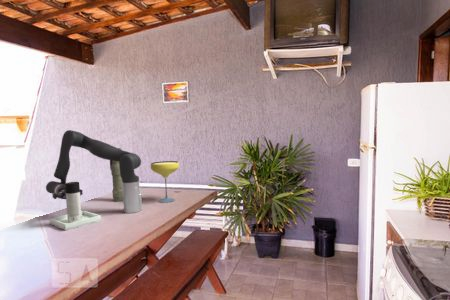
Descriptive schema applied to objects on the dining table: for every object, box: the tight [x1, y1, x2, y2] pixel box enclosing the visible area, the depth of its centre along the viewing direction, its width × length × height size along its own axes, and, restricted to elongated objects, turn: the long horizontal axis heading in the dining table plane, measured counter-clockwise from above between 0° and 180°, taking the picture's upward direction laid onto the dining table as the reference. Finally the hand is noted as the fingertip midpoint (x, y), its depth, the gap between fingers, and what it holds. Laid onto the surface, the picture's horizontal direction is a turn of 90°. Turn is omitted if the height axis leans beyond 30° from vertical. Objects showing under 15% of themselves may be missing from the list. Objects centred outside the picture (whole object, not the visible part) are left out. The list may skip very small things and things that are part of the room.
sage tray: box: [49, 210, 102, 231], centre depth 162 cm, size 18×18×3 cm
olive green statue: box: [109, 147, 124, 203], centre depth 210 cm, size 9×12×35 cm
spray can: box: [65, 181, 82, 222], centre depth 162 cm, size 7×7×20 cm
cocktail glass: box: [150, 160, 180, 204], centre depth 204 cm, size 18×18×25 cm
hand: (71, 195), depth 165 cm, fingers open, 8 cm apart
